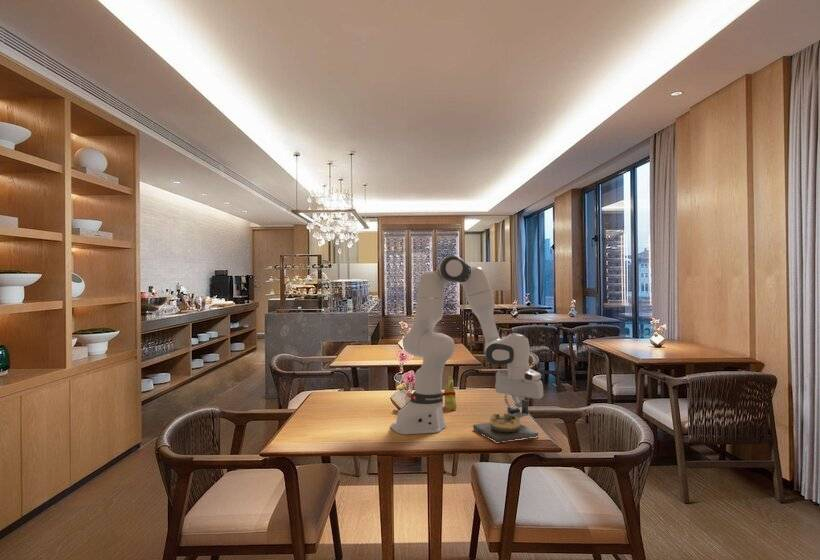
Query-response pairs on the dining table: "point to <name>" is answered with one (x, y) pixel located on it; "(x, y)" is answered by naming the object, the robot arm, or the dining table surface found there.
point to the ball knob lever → (509, 420)
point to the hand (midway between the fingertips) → (518, 406)
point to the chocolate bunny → (450, 395)
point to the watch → (512, 409)
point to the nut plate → (504, 436)
